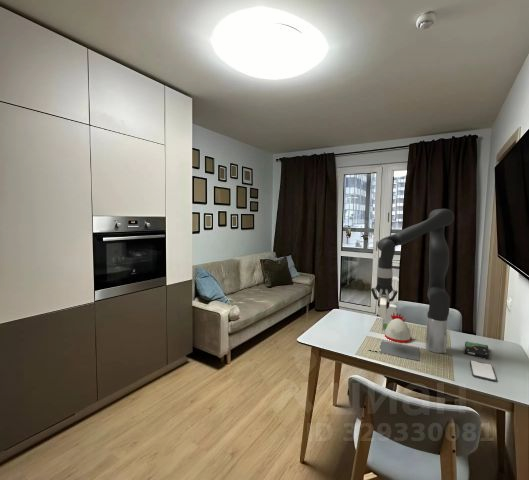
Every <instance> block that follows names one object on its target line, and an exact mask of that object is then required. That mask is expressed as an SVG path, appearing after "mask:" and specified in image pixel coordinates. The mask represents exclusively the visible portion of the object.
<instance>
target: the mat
mask: <svg viewBox="0 0 529 480" xmlns="http://www.w3.org/2000/svg"><path fill="white" fill-rule="evenodd" d="M381 341H382V342H381V345H380V349H381V351H379V352H380V353H379V354H382V353H384V354H383V355H386V354H388V355H387V356H391V355H392V357H396V358H401V359H402V358H403V359H406V360H413V361H417V362H420V347H416V346H412V345H405V344H402V343H397V342H389V341H385V340H381Z"/></svg>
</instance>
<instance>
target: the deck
mask: <svg viewBox="0 0 529 480" xmlns="http://www.w3.org/2000/svg"><path fill="white" fill-rule="evenodd" d="M386 308H387V298H386V295H381V299H380V308H379V318H380V319H381V318H386V314H387V309H386Z"/></svg>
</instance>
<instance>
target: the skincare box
mask: <svg viewBox="0 0 529 480" xmlns="http://www.w3.org/2000/svg"><path fill="white" fill-rule="evenodd" d="M397 309H398V306H397V305H396V304H391V303H390V304H389V308H388V309H387V314H386V318H380V319H381V320H380V327H381V330H382V331H385V330H386V328H387V324H388V323H389V322H390V321H391V320H393V319H392V317H391V315H392V316H393V313H394V314H395V316H396V315H397V313H398V312H397Z"/></svg>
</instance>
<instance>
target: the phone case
mask: <svg viewBox="0 0 529 480" xmlns="http://www.w3.org/2000/svg"><path fill="white" fill-rule="evenodd" d="M469 366H470V367H469V368H470V371H471V375H472V377H474V378H476V379H479V380H483V381H489V382H493V383H496V382H497V381H498V380H497V377H496V373H495V370H494V367H493V365H492V364H490V363H486V362H482V361H477V360H473V359H471V360H469Z"/></svg>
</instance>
